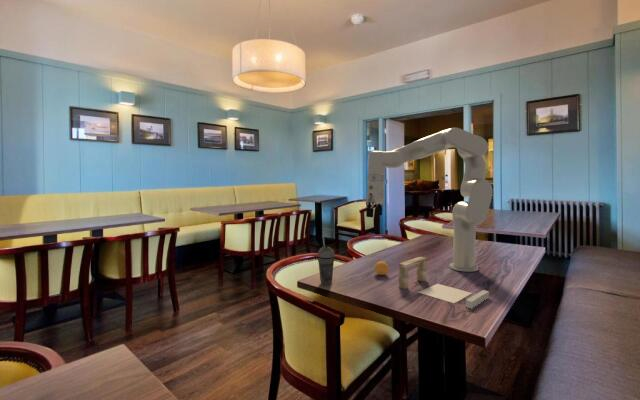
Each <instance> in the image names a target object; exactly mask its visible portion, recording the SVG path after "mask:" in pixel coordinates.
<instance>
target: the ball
mask: <svg viewBox="0 0 640 400" xmlns="http://www.w3.org/2000/svg"><path fill="white" fill-rule="evenodd" d="M374 270H375V273H376V274H377V275H378V276H379V275H380V276H384V275H387V273H388V272H389V270H390V269H389V266H388V264H387V262H385V261H381V260H380V261H377V262H376V263H375V266H374Z"/></svg>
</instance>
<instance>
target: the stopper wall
mask: <svg viewBox="0 0 640 400" xmlns="http://www.w3.org/2000/svg"><path fill="white" fill-rule="evenodd" d="M486 299H487V300H489V299H490V291H488V290H485V289H483V290H481V291H479V292H477V293H475V294H474V295H472V296H470V297H468V298H466V299H465V308H466V307H467V309H470V308H471V309H470V310H473V309H474V308H475V306H476V307H477V306H479V305H480V304H482V303H484V302H485V301H487V300H486ZM484 300H485V301H484ZM483 301H484V302H483ZM481 302H482V303H481ZM478 304H479V305H478ZM473 307H474V308H473Z"/></svg>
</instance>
